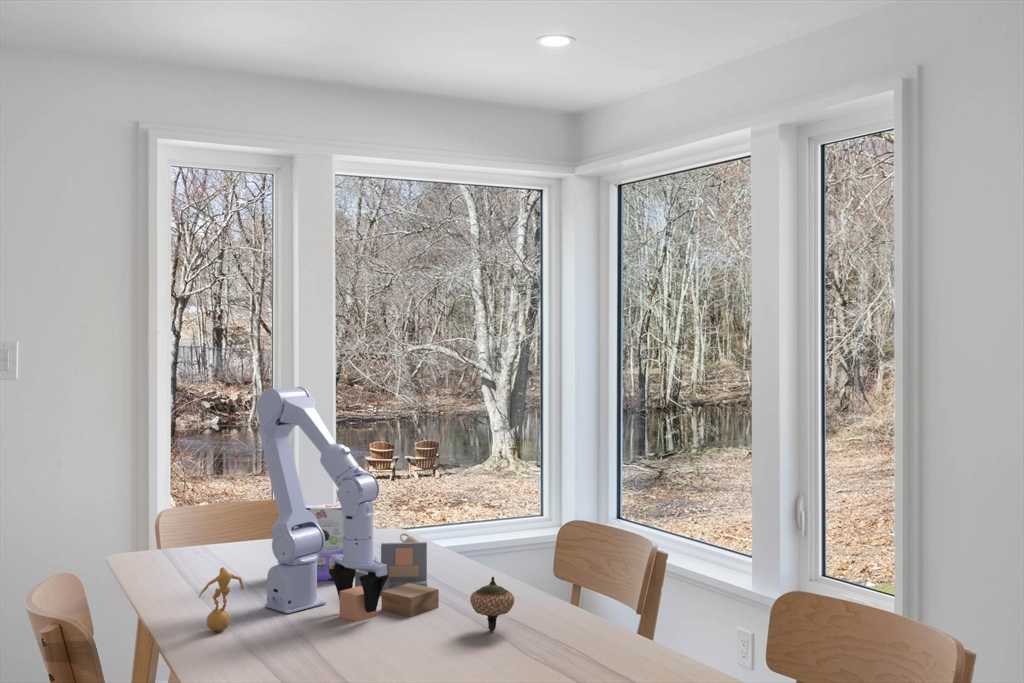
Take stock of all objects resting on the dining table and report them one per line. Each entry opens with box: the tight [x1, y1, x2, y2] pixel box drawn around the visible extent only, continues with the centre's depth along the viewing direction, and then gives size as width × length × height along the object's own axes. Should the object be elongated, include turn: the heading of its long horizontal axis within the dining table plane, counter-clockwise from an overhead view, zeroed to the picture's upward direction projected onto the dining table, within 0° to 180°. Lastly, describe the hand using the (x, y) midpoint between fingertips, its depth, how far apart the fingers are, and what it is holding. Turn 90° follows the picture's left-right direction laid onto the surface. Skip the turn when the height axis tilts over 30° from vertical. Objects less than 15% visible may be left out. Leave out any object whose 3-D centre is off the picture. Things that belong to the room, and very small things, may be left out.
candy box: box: [291, 503, 343, 581], centre depth 203 cm, size 14×6×16 cm, turn 84°
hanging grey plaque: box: [380, 541, 428, 589], centre depth 197 cm, size 6×10×9 cm, turn 97°
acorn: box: [469, 576, 515, 632], centre depth 164 cm, size 8×8×10 cm
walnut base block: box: [381, 583, 440, 618], centre depth 178 cm, size 8×8×4 cm
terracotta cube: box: [339, 586, 377, 622], centre depth 173 cm, size 5×5×5 cm
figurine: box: [198, 567, 244, 633], centre depth 163 cm, size 8×6×12 cm
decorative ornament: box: [399, 532, 420, 543], centre depth 223 cm, size 4×8×5 cm, turn 33°
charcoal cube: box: [354, 570, 390, 597], centre depth 189 cm, size 5×5×5 cm
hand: (358, 607), depth 173 cm, fingers open, 7 cm apart
